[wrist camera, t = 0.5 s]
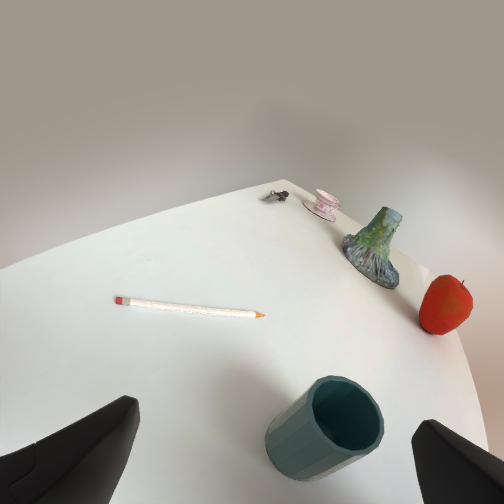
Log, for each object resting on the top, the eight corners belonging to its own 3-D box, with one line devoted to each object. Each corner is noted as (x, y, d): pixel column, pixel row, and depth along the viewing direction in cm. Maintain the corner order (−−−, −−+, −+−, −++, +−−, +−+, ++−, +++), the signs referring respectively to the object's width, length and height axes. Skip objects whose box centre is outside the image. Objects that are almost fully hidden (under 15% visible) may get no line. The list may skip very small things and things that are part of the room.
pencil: (116, 299, 28) (116, 295, 28) (263, 315, 37) (266, 311, 37) (115, 305, 28) (116, 300, 27) (266, 319, 36) (268, 315, 36)
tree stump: (348, 273, 61) (380, 198, 57) (326, 251, 81) (350, 193, 77) (407, 297, 63) (437, 230, 59) (376, 272, 82) (400, 218, 78)
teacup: (299, 205, 89) (308, 188, 86) (307, 200, 99) (315, 184, 96) (332, 225, 86) (342, 208, 84) (336, 217, 97) (345, 202, 94)
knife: (273, 201, 73) (257, 192, 74) (270, 208, 74) (254, 198, 75) (293, 194, 89) (280, 187, 90) (291, 200, 90) (277, 192, 91)
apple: (414, 335, 49) (457, 281, 43) (403, 303, 60) (438, 255, 54) (449, 353, 49) (490, 306, 43) (436, 322, 60) (470, 279, 53)
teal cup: (329, 489, 18) (383, 464, 15) (254, 465, 19) (298, 437, 16) (339, 428, 25) (383, 394, 22) (276, 401, 26) (314, 362, 23)
